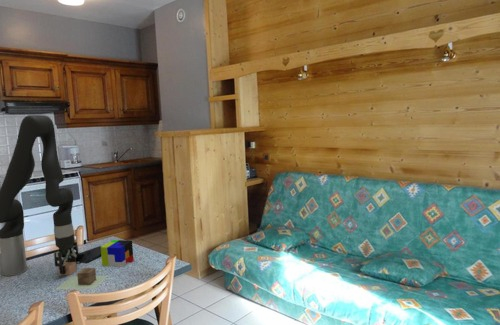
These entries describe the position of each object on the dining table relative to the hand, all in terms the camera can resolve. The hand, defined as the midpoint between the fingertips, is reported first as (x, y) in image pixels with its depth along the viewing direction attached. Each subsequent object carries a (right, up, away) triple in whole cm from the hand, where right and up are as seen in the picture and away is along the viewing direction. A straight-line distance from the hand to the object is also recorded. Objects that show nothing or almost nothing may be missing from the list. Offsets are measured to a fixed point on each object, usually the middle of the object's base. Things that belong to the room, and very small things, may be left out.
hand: (68, 269), depth 156 cm
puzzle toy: (+18, -1, +10) cm, 21 cm away
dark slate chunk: (-2, -1, +20) cm, 20 cm away
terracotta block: (0, -2, 0) cm, 2 cm away
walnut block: (+13, -2, -10) cm, 17 cm away
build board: (+11, -3, -10) cm, 15 cm away
